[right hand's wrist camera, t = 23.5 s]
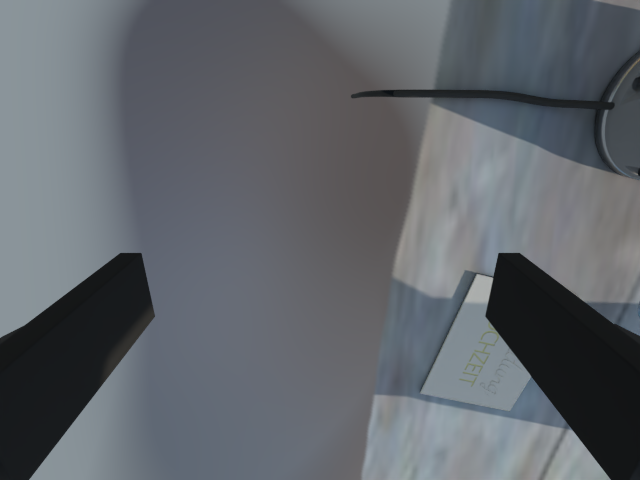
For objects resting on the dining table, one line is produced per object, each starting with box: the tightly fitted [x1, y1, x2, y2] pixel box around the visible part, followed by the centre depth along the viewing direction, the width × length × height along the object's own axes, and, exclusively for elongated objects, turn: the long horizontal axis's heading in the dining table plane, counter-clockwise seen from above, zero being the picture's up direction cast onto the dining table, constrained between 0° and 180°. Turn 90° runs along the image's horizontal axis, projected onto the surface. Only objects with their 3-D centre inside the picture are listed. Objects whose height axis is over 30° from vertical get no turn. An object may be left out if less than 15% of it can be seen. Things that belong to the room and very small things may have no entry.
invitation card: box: [420, 274, 531, 411], centre depth 49 cm, size 21×1×15 cm
